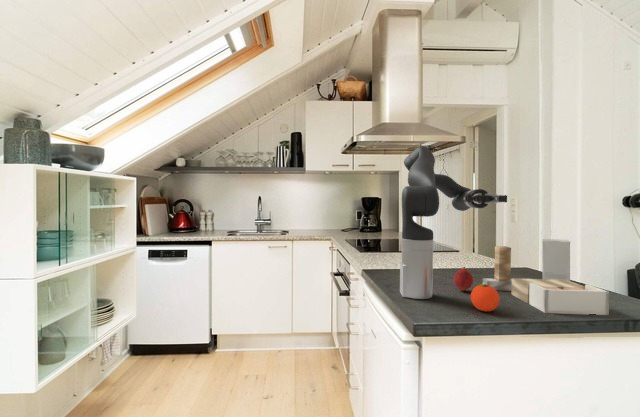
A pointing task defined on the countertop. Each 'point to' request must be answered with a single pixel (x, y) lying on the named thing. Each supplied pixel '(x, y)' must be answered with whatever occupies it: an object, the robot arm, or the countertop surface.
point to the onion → (463, 279)
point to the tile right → (572, 288)
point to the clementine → (485, 297)
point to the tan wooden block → (522, 285)
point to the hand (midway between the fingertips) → (492, 198)
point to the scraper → (501, 270)
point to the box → (570, 300)
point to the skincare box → (556, 259)
